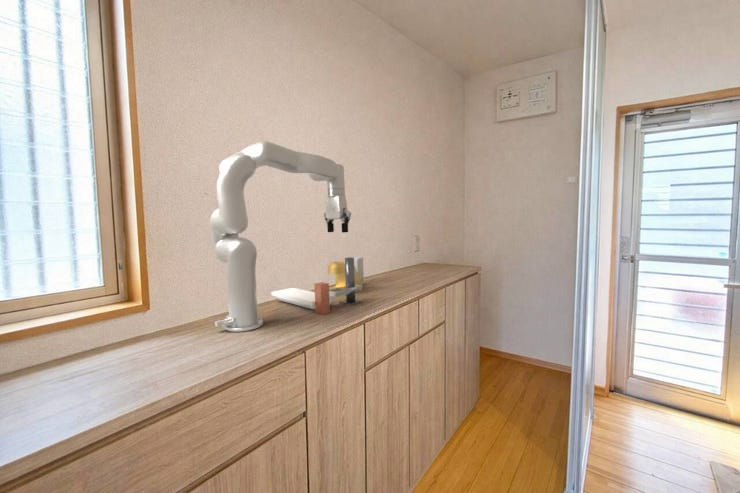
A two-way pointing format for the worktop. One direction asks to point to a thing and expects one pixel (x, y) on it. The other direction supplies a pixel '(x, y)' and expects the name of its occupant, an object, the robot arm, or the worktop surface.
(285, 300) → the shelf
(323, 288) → the orange-brown rectangular block
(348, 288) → the rosette post
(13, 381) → the worktop surface
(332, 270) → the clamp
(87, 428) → the worktop surface
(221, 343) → the worktop surface
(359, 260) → the skincare box
